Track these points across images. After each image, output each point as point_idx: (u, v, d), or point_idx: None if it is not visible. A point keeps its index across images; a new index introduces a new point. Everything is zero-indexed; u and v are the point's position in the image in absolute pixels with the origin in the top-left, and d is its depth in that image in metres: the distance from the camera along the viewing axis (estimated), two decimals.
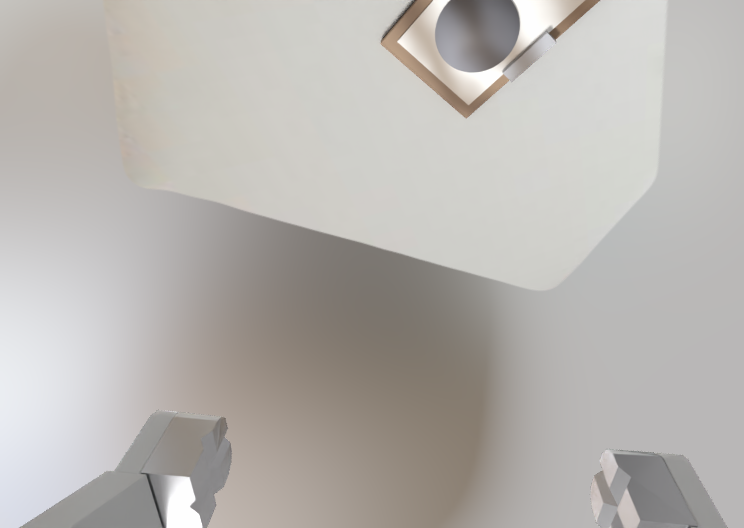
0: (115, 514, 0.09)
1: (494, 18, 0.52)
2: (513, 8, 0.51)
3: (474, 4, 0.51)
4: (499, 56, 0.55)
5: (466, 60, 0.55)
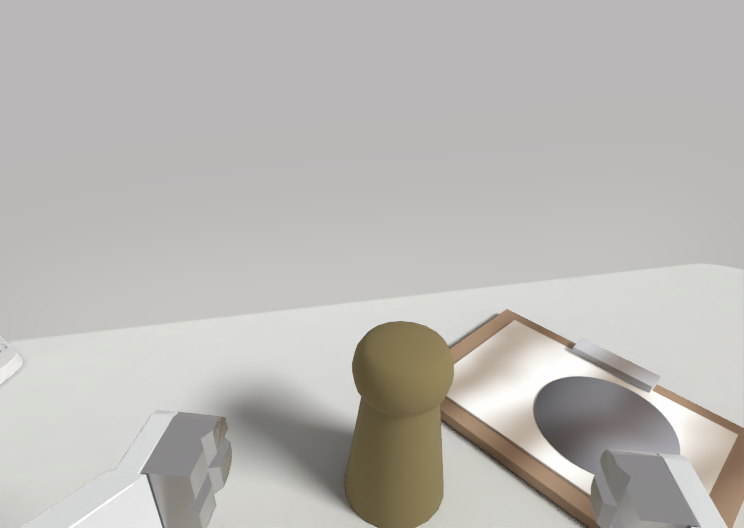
0: (115, 514, 0.09)
1: (575, 403, 0.34)
2: (555, 384, 0.36)
3: (562, 426, 0.32)
4: (629, 397, 0.35)
5: (656, 436, 0.32)
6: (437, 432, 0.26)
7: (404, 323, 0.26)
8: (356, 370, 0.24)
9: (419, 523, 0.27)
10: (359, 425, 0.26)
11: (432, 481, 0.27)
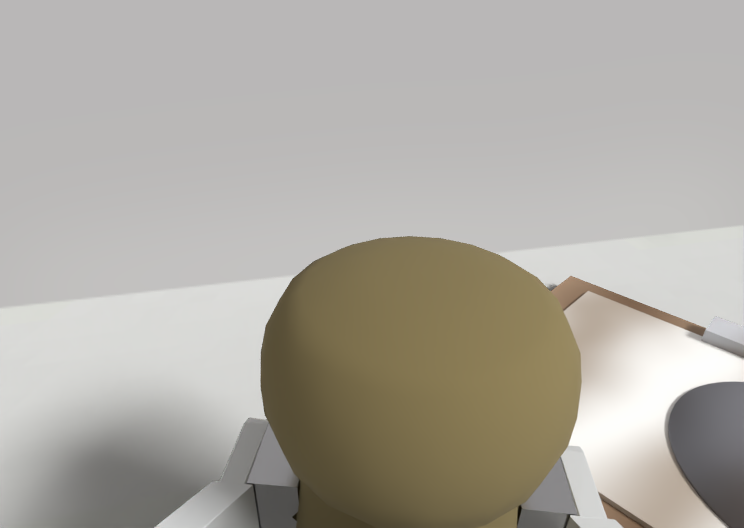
0: (225, 525, 0.09)
1: None
2: (694, 398, 0.19)
3: (743, 485, 0.16)
4: None
5: None
6: None
7: (417, 238, 0.09)
8: (264, 375, 0.07)
9: None
10: None
11: None
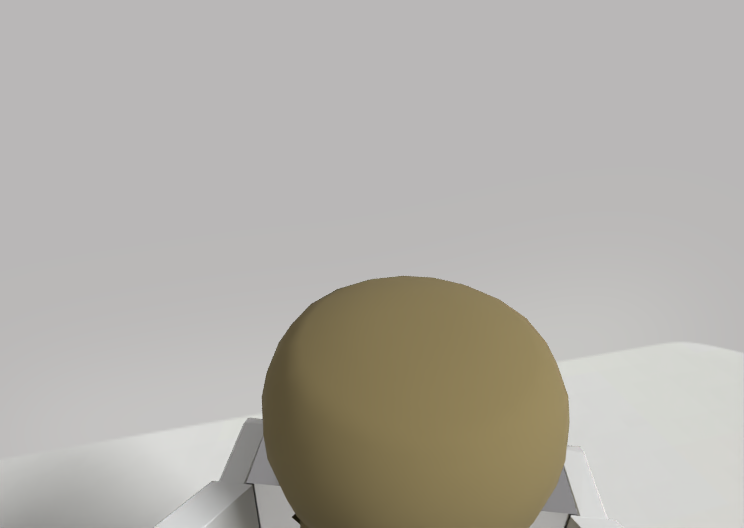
0: (225, 525, 0.09)
1: None
2: None
3: None
4: None
5: None
6: None
7: (411, 279, 0.09)
8: (267, 424, 0.08)
9: None
10: None
11: None
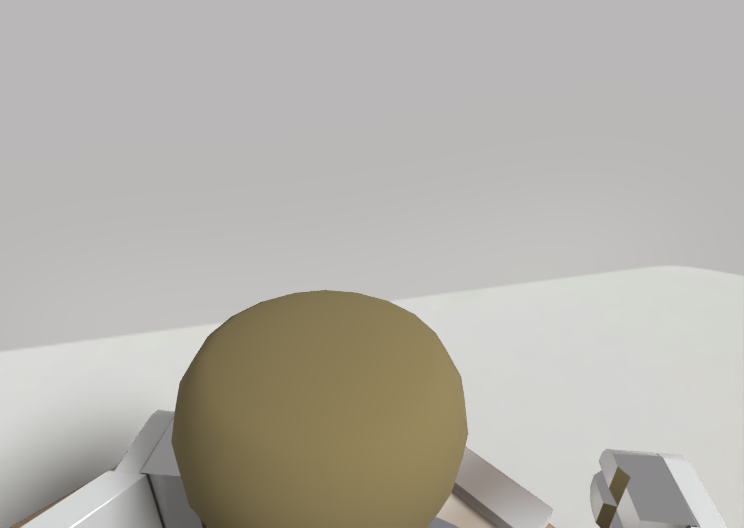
0: (115, 514, 0.09)
1: None
2: None
3: None
4: None
5: None
6: None
7: (330, 294, 0.10)
8: (173, 433, 0.08)
9: None
10: None
11: None
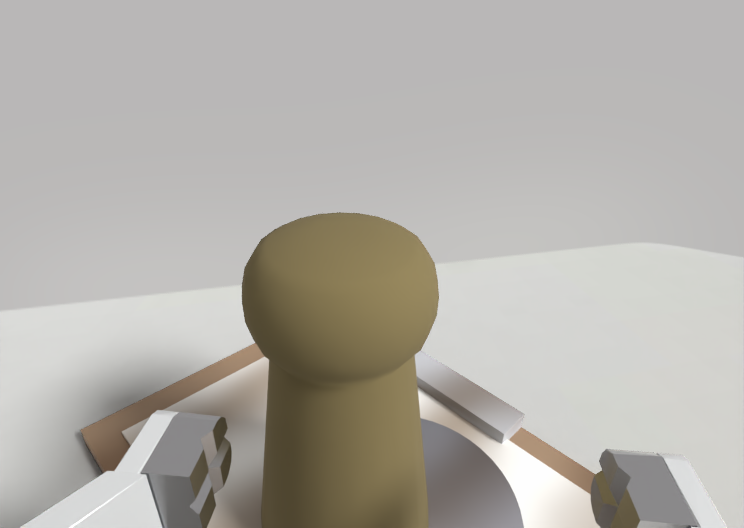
0: (115, 514, 0.09)
1: None
2: None
3: None
4: (463, 452, 0.20)
5: None
6: (412, 414, 0.14)
7: (343, 213, 0.14)
8: (244, 295, 0.12)
9: None
10: (268, 409, 0.14)
11: (408, 503, 0.15)
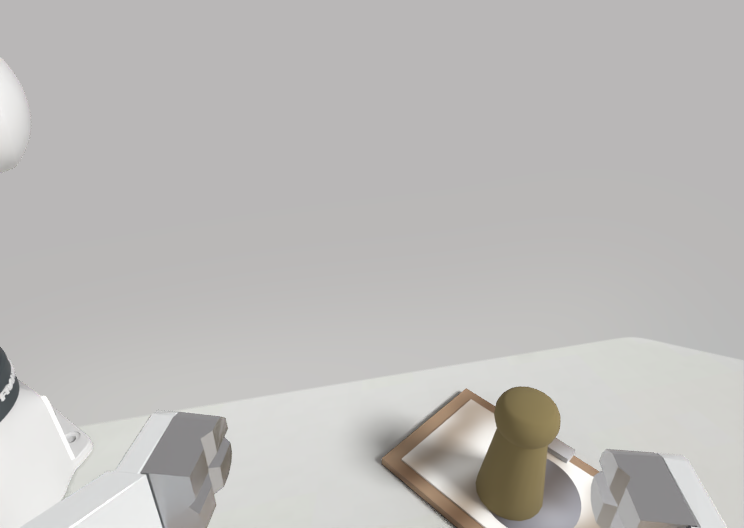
0: (115, 514, 0.09)
1: None
2: None
3: None
4: (550, 467, 0.47)
5: (565, 500, 0.44)
6: (546, 456, 0.41)
7: (524, 388, 0.41)
8: (502, 421, 0.39)
9: (533, 515, 0.42)
10: (497, 454, 0.41)
11: (542, 487, 0.42)
